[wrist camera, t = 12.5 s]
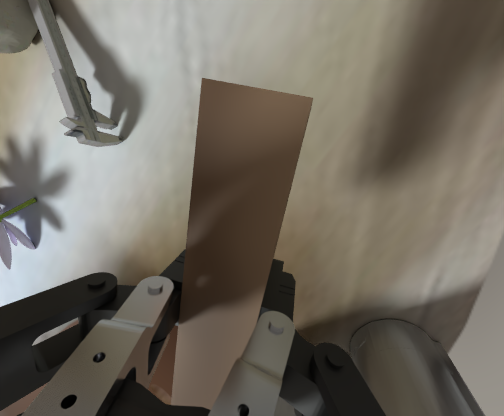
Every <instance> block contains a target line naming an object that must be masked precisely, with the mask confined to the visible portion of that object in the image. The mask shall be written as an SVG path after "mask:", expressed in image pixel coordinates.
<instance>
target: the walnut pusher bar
mask: <svg viewBox="0 0 504 416" xmlns="http://www.w3.org/2000/svg"><path fill="white" fill-rule="evenodd" d="M312 101H313V98H310V97H305V96H299V95H294V94H288V93H283V92H277V91H272V90H266V89H261V88H255V87H249V86H244V85H238V84H233V83H227V82H222V81H216V80H211V79H205V78H202V84H201V94H200V105H199V115H198V126H197V136H196V147H195V157H194V168H193V178H192V189H191V199H190V210H189V221H188V231H187V242H186V252H185V263H184V273H183V284H182V294H181V305H180V315H179V326H178V337H177V347H176V357H175V368H174V378H173V389H172V399H171V405H179V406H196V407H204V408H207V409H209V410H211V409H212V407H213V405H214V403H215V401H216V399H217V397H218V395H219V393H220V391H221V389H222V387H223V385H224V383H225V381H226V379H227V377H228V375H229V373H230V371H231V369H232V367H233V365H234V363H235V361H236V359H237V358H238V357H239V358H240V357H241V355H242V353H243V351H244V349H245V347H246V345H247V343H248V341H249V339H250V337H251V335H252V332H253V330H254V328H255V326H256V324H257V320H258V316H259V312H260V308H261V304H262V300H263V296H264V292H265V288H266V284H267V280H268V277H269V273H270V269H271V265H272V261H273V257H274V253H275V249H276V245H277V241H278V238H279V234H280V230H281V226H282V222H283V218H284V214H285V210H286V206H287V202H288V198H289V194H290V190H291V186H292V182H293V178H294V174H295V170H296V166H297V162H298V158H299V154H300V150H301V146H302V142H303V138H304V134H305V130H306V126H307V122H308V118H309V114H310V110H311V106H312Z"/></svg>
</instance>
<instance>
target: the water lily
mask: <svg viewBox="0 0 504 416" xmlns="http://www.w3.org/2000/svg"><path fill="white" fill-rule="evenodd" d="M34 202H36V200H35V198H32V199H30V200H28V201H26V202H24V203H23V204H21V205H19V206H17V207H15V208H13V209H11V210H9V211H7V212H5V213H3V214H2V209H1V207H0V256H1V259H2V261H3V263H4V264H5V265H6V267H7V268H8V269H9V270H10V269H11V260H12V254H11V245H10V241H9V237H10V239H11V241H12V243H13V244H14V245H16V246H17V239H18V240H19V241H20V242H21V243H22V244H23V245H24V246H26V247H28V248H30V249H35V247H34V245H33V243H32V242H31V240H30V239H29V238H28V237H27V236H26V235H25V234H24V233H23V232H22V231H21V230H20V229H18V228H17V227H16V226H14V225H13V224H11V223H9V222H7V221H6V220H4V219H3V218H4V217H6V216H9V215H11V214H13V213H15V212H17V211H19V210H21V209H23V208H25V207H27V206H29V205H31V204H32V203H34ZM3 224H4V225H3ZM4 226H5V227H4ZM7 233H8V235H9V237H8V235H7ZM16 238H17V239H16Z"/></svg>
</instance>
